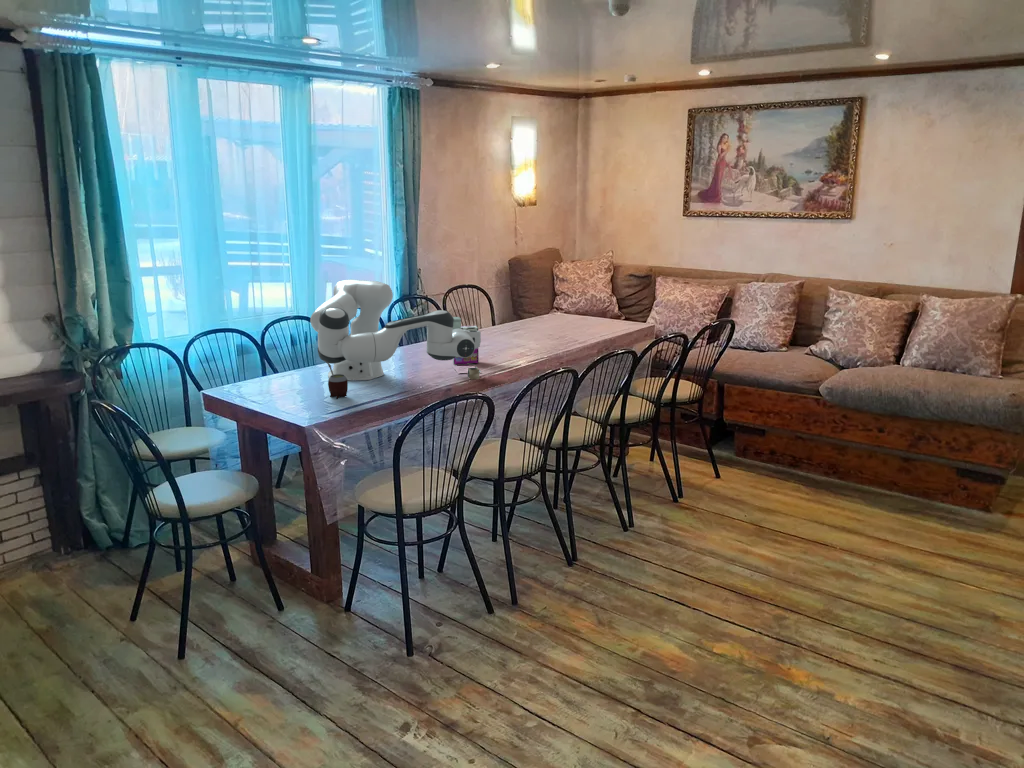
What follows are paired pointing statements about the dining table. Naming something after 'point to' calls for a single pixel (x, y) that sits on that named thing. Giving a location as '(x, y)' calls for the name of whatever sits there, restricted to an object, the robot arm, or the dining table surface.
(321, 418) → the dining table surface
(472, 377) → the letter cube
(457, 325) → the tea tin
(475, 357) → the candy bar box
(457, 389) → the dining table surface
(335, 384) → the mate gourd
